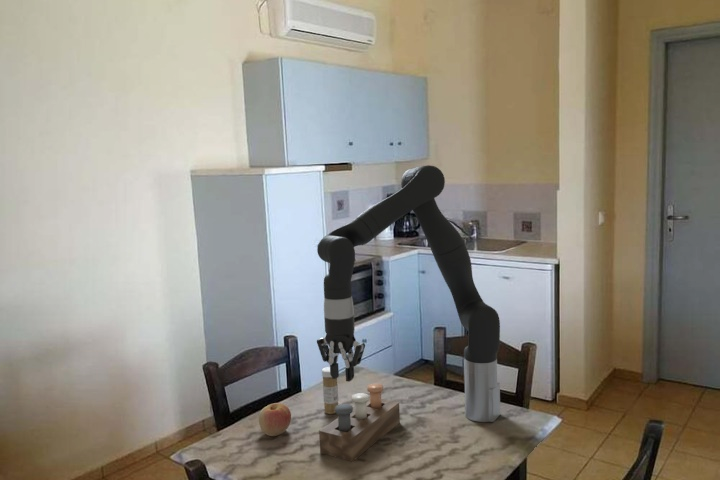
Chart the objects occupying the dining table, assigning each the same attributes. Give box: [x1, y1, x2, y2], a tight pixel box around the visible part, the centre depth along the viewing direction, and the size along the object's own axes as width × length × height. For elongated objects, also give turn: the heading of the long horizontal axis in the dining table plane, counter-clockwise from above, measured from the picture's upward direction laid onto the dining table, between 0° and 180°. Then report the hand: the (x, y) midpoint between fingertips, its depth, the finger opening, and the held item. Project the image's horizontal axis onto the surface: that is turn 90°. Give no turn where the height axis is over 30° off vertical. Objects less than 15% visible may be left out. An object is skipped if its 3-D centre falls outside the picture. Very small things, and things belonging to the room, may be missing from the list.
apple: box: [258, 402, 292, 437], centre depth 166 cm, size 9×9×8 cm
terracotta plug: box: [366, 382, 384, 409], centre depth 168 cm, size 5×5×7 cm
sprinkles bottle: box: [321, 366, 339, 415], centre depth 179 cm, size 5×5×13 cm
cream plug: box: [351, 392, 370, 420], centre depth 161 cm, size 5×5×7 cm
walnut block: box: [318, 395, 401, 462], centre depth 162 cm, size 10×25×6 cm, turn 148°
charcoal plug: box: [335, 403, 354, 432], centre depth 154 cm, size 5×5×7 cm
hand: (342, 378), depth 153 cm, fingers open, 3 cm apart
